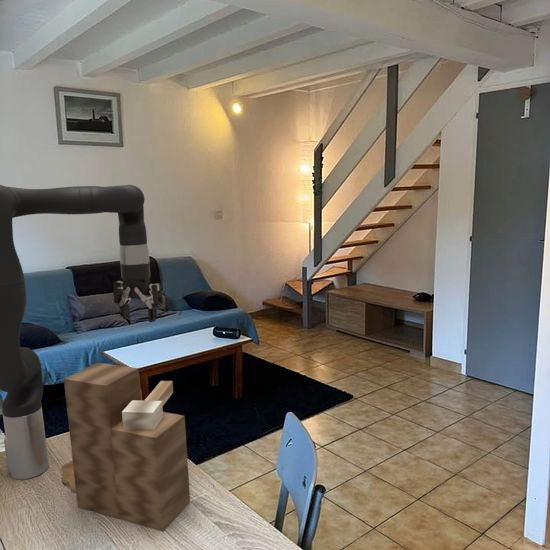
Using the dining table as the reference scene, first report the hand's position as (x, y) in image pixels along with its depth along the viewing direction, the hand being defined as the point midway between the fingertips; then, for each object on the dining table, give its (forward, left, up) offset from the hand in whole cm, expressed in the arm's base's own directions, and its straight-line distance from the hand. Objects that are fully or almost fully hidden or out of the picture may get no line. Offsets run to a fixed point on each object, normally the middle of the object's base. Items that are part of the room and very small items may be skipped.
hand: (139, 320), depth 141 cm
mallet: (+15, -16, -16) cm, 28 cm away
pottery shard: (-10, -17, -39) cm, 44 cm away
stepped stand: (+12, -22, -38) cm, 46 cm away
